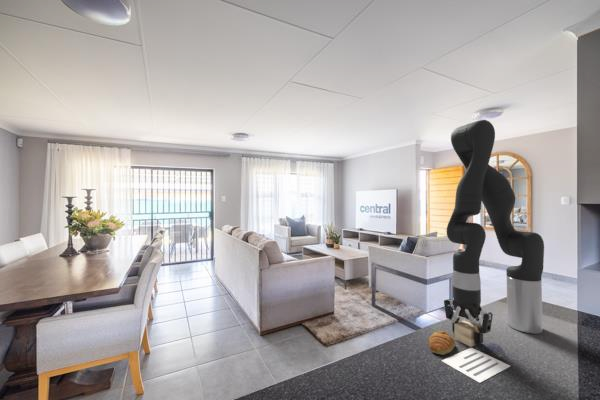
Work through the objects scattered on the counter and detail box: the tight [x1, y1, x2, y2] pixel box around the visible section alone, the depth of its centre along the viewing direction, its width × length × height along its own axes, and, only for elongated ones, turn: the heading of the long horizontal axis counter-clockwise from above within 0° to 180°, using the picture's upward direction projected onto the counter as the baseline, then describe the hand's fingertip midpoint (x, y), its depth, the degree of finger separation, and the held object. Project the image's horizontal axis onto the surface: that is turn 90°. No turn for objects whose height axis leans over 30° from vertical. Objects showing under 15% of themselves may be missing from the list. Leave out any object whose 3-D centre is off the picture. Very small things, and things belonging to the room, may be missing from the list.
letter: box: [440, 346, 511, 384], centre depth 71 cm, size 14×10×1 cm
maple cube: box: [453, 320, 477, 348], centre depth 82 cm, size 5×5×5 cm
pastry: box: [428, 330, 456, 356], centre depth 78 cm, size 9×7×4 cm
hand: (467, 338), depth 82 cm, fingers open, 6 cm apart
